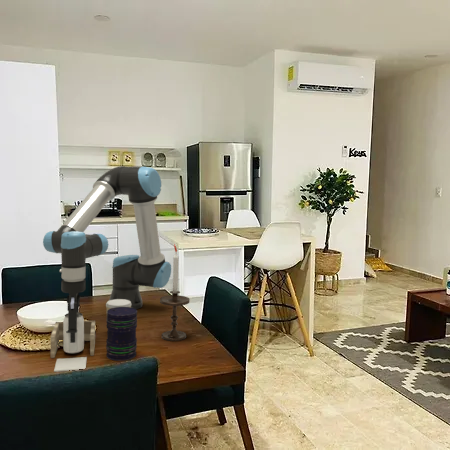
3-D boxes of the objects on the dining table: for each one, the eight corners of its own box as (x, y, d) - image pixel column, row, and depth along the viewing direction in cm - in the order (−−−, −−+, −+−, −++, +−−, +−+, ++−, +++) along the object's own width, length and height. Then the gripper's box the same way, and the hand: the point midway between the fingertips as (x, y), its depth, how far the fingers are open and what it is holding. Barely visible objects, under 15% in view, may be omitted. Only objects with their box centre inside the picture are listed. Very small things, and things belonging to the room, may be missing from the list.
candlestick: (159, 342, 164) (161, 246, 160) (159, 332, 174) (161, 241, 171) (189, 341, 165) (192, 246, 162) (187, 331, 176) (190, 242, 172)
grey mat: (57, 360, 145) (57, 358, 145) (86, 358, 147) (86, 357, 147) (54, 371, 136) (54, 370, 136) (85, 369, 139) (85, 368, 139)
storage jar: (141, 351, 155) (142, 308, 153) (129, 362, 145) (129, 316, 144) (114, 347, 157) (115, 305, 155) (100, 358, 147) (100, 313, 146)
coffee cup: (124, 338, 166) (125, 306, 165) (101, 336, 168) (101, 304, 167) (134, 330, 175) (135, 300, 174) (112, 328, 177) (112, 297, 176)
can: (67, 345, 155) (67, 311, 153) (86, 346, 155) (86, 312, 153) (60, 353, 148) (60, 317, 147) (80, 354, 148) (79, 318, 147)
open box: (55, 341, 161) (55, 322, 160) (95, 339, 164) (95, 320, 164) (50, 358, 146) (50, 336, 146) (93, 355, 150) (94, 334, 149)
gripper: (64, 273, 157) (64, 337, 160) (58, 286, 139) (58, 359, 141) (86, 272, 159) (86, 336, 162) (84, 285, 141) (84, 357, 143)
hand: (73, 347), depth 151 cm, fingers closed on can, 6 cm apart
